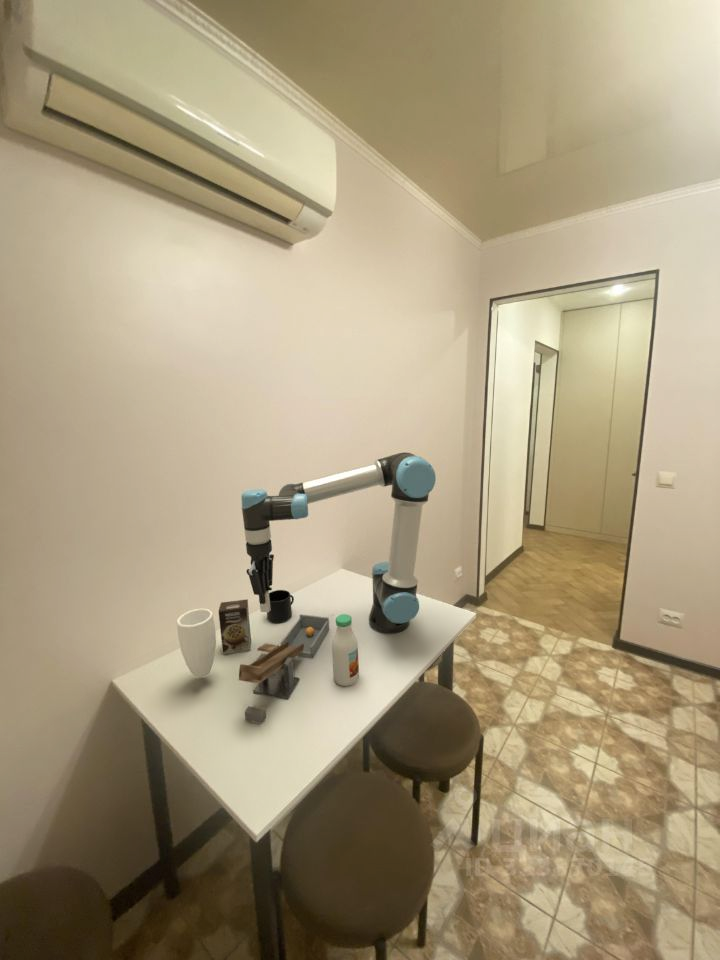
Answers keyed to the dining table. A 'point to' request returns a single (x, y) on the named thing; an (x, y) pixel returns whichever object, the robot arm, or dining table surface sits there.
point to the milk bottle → (345, 652)
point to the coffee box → (235, 626)
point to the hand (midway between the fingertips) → (265, 610)
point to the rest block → (255, 714)
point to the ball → (309, 631)
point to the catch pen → (300, 637)
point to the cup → (197, 640)
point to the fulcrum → (279, 682)
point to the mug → (280, 606)
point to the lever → (268, 662)
